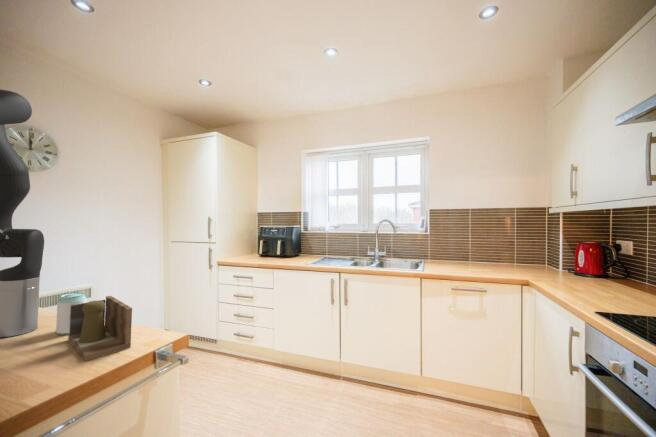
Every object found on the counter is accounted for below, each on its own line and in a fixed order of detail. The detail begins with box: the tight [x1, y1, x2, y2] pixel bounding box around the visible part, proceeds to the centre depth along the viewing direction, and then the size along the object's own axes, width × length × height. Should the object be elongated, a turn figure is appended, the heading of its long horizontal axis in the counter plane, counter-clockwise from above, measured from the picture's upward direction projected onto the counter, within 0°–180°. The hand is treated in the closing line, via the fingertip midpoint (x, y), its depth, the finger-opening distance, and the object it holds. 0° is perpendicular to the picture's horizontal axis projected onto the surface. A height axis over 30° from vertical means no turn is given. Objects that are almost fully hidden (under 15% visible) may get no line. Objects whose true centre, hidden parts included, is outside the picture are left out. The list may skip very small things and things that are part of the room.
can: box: [55, 292, 88, 335], centre depth 89 cm, size 7×7×12 cm
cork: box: [79, 300, 106, 343], centre depth 80 cm, size 6×6×11 cm
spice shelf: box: [67, 295, 133, 362], centre depth 81 cm, size 20×10×12 cm, turn 53°
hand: (17, 250), depth 70 cm, fingers open, 8 cm apart
